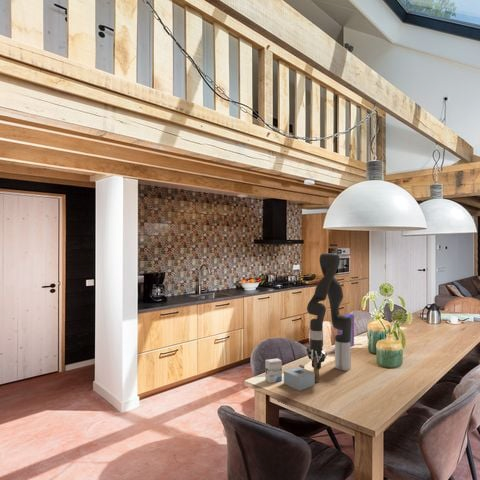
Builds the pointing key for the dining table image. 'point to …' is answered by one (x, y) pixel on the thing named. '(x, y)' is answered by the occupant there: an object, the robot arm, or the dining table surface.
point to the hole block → (299, 378)
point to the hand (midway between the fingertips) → (316, 367)
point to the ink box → (273, 370)
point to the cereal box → (351, 329)
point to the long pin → (316, 370)
